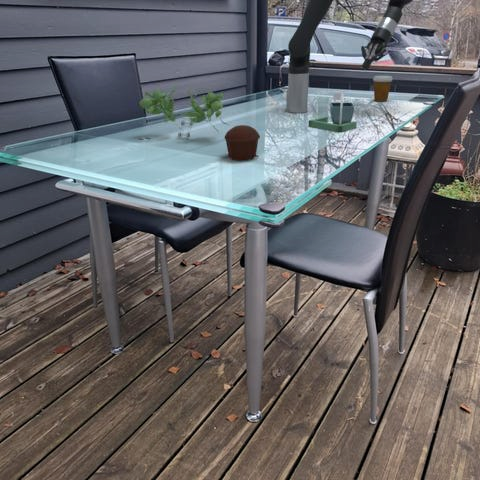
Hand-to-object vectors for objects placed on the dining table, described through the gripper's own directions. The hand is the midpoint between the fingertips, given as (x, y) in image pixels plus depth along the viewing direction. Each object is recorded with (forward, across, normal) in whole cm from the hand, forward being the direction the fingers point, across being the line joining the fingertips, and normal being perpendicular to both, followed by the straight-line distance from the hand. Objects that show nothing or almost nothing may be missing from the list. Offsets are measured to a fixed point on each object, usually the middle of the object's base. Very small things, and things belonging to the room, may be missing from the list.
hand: (364, 68), depth 194 cm
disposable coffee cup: (-7, -15, +44) cm, 47 cm away
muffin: (+63, +11, -49) cm, 81 cm away
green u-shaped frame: (+30, +5, -7) cm, 32 cm away
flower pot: (+29, +7, -5) cm, 30 cm away
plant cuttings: (+62, -26, -44) cm, 80 cm away
